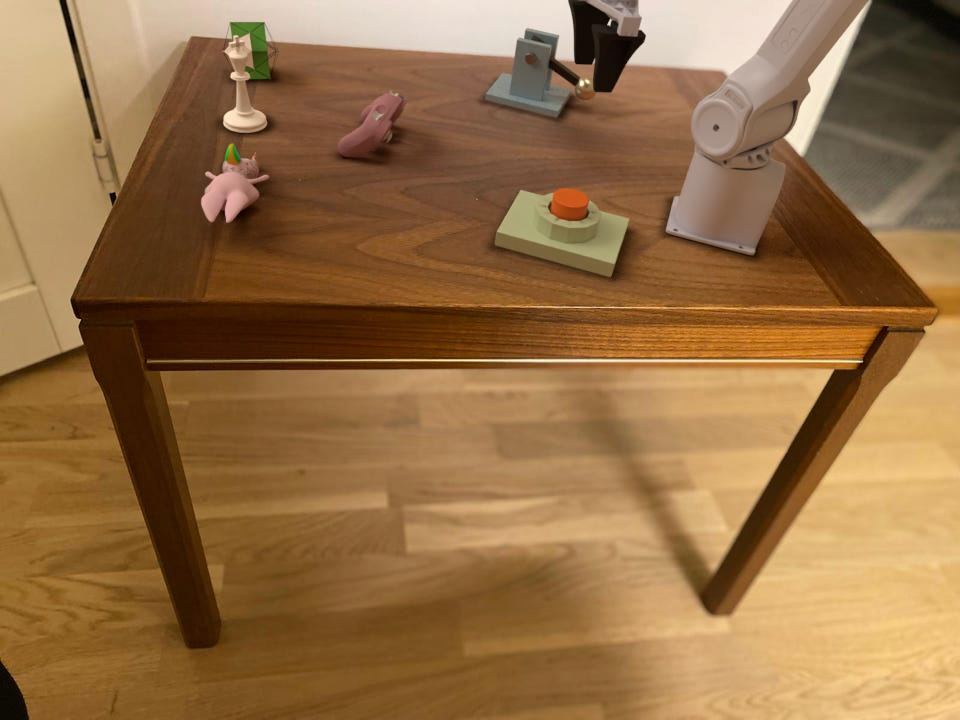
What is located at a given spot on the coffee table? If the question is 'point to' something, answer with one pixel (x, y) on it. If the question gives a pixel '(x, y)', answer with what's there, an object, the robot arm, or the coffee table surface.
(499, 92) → the switch bracket
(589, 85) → the switch lever
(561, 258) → the button block
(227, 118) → the chess piece
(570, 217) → the button
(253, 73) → the geometric puzzle
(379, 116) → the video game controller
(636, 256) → the coffee table surface
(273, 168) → the coffee table surface
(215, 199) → the pink plush unicorn
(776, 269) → the coffee table surface
